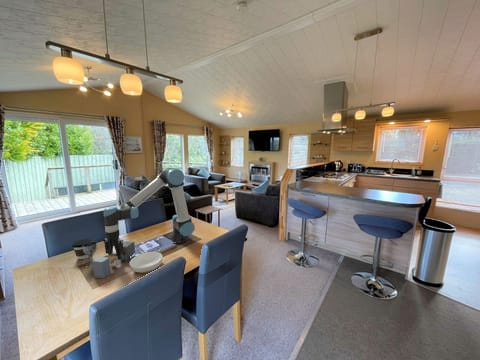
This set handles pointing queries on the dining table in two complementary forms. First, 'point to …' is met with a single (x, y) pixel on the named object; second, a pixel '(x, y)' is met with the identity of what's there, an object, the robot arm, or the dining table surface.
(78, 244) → the coffee cup
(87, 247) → the wine glass
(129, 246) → the sleeve
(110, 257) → the tube
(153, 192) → the robot arm
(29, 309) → the dining table surface
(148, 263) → the bowl
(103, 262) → the socket
